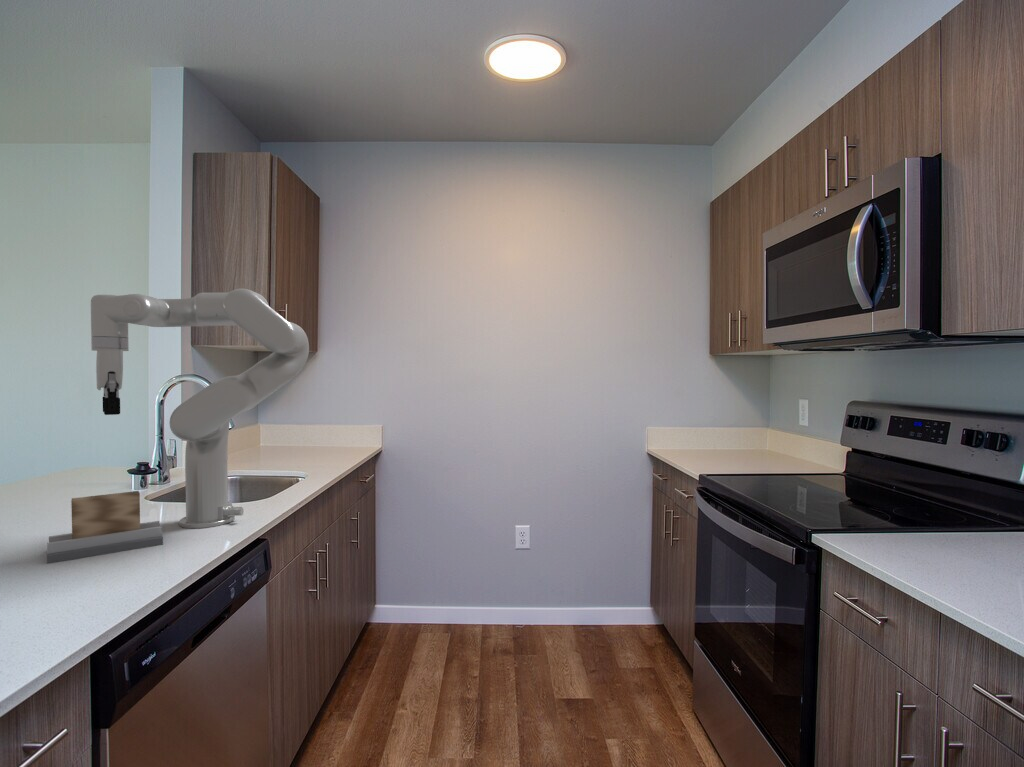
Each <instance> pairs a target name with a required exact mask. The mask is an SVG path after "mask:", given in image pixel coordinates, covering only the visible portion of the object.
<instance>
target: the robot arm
mask: <svg viewBox="0 0 1024 767" xmlns="http://www.w3.org/2000/svg"><path fill="white" fill-rule="evenodd" d="M129 324H130V325H136V326H137V325H138V326H145V327H146V326H147V327H153V328H180V327H181V328H183V327H184V328H185V327H201V328H202V327H218V326H219V327H220V326H221V327H222V326H238V327H239V328H240V329H241V330H243V331H244V332H245V333H247V334H248V335H249V336H250V337H251V338H253V340H255V341H256V342H257V343H259V344H260V345H262V346H263V347H264V348H265V349H267V350H269V351H270V352H272V353H270V354H269V355H268V356H266V357H263V359H261V360H259V361H258V362H256V363H255V364H254V365H252V366H251V367H249V368H248V369H246V370H245V371H243V372H242V373H240V374H236V375H228V376H224V377H222V378H219V379H216V380H215V381H213V382H211V383H210V384H209V385H207V386H205V387H204V388H203V389H201V390H200V391H198V392H197V393H195V394H193V395H192V396H191V397H190V398H187V399H186V400H185V401H184V402H182V403H180V404H179V405H178V406H176V408H175V409H174V410H173V411H172V412H171V414H170V417H169V423H168V424H169V429H170V432H171V433H172V434H173V435H174V436H175V437H176V438H177V439H180V440H182V441H186V444H185V445H186V446H185V455H184V456H185V463H184V466H185V469H184V470H185V516H184V517H182V518H180V519H179V521H178V525H179V527H182V528H183V529H204V528H205V529H206V527H207V528H213V526H214V527H218V526H219V527H220V526H223V525H225V524H229V523H231V522H233V521H234V520H235V517H237V516H240V517H241V516H243V515H244V510H245V509H244V508H243V507H242V506H233V501H229V498H228V497H229V495H228V494H229V492H228V491H229V490H228V489H229V484H228V483H229V482H228V479H229V478H228V444H229V442H228V441H229V433H230V431H229V430H230V420H232V419H233V418H235V417H236V416H238V415H239V414H242V413H247V412H248V411H250V410H252V409H254V408H255V407H256V406H257V405H259V404H260V403H261V402H263V401H264V400H266V399H267V398H268V397H270V396H271V395H272V394H274V393H275V392H277V391H278V390H279V389H281V388H282V387H283V386H285V385H286V384H288V383H289V382H290V381H291V380H292V379H294V378H295V377H296V376H297V375H298V374H299V373H300V372H301V371H302V369H303V368H304V367H305V365H306V363H307V360H308V358H309V354H310V353H309V352H310V344H309V338H308V336H307V333H306V332H305V331H304V329H303V328H302V327H301V326H299V325H298V324H296V323H294V322H292V321H288V320H286V319H285V318H284V317H283V316H282V315H280V314H279V313H278V312H277V311H275V309H273V308H272V307H270V305H269V303H268V301H267V299H266V298H265V297H264V296H263V295H262V294H260V293H258V292H255V291H253V290H251V289H247V288H242V287H241V288H236V289H233V290H231V291H229V292H199V293H197V294H195V296H192V297H188V298H187V297H185V298H157V297H152V296H149V295H145V294H140V293H131V294H130V293H129V294H123V295H116V294H115V295H114V294H96V295H93V296H92V297H91V298H90V328H91V329H90V333H91V334H90V336H91V340H90V341H91V342H90V343H91V345H90V346H91V351H96V367H95V368H96V369H95V370H96V371H95V372H96V389H97V390H98V391H101V390H102V389H103V396H102V412H103V414H104V415H105V416H110V415H111V416H115V415H116V416H117V415H120V414H121V397H120V391H121V390H122V387H123V378H124V377H123V376H124V352H130V351H129V348H130V347H129Z"/></svg>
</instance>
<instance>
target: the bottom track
mask: <svg viewBox="0 0 1024 767" xmlns="http://www.w3.org/2000/svg"><path fill="white" fill-rule="evenodd" d="M160 523H161V522H160V521H159V520H156V521H155V520H154V521H148V522H147V521H146V522H142V523H141V522H140V529H139V530H132V531H125V532H118V533H112V534H105V535H98V536H91V537H84V538H78V539H72V532H71V533H62V534H58V535H57V534H56V535H49V536H48V542H47V545H46V546H47V547H46V548H47V551H46V552H47V553H46V564H51V563H57V562H64V561H69V560H75V559H81V558H82V559H83V558H88V557H93V556H94V557H95V556H101V555H105V554H111V553H119V552H123V551H131V550H136V549H141V548H143V549H144V548H148V547H149V548H150V547H153V546H154V547H156V546H161V545H164V537H163V526H162V525H160Z"/></svg>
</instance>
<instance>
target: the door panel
mask: <svg viewBox="0 0 1024 767" xmlns="http://www.w3.org/2000/svg"><path fill="white" fill-rule="evenodd" d="M140 496H141V495H140V491H139V490H135V491H133V490H132V491H126V492H125V491H124V492H117V493H109V494H108V493H107V494H100V495H98V494H97V495H91V496H89V495H88V496H81V497H72V498H71V501H70V502H71V504H70V505H71V506H70V508H71V533H72V539H78V538H84V537H91V536H98V535H105V534H112V533H118V532H125V531H132V530H139V529H140V523H141V508H140V507H141V500H140V499H141V498H140Z"/></svg>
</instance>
